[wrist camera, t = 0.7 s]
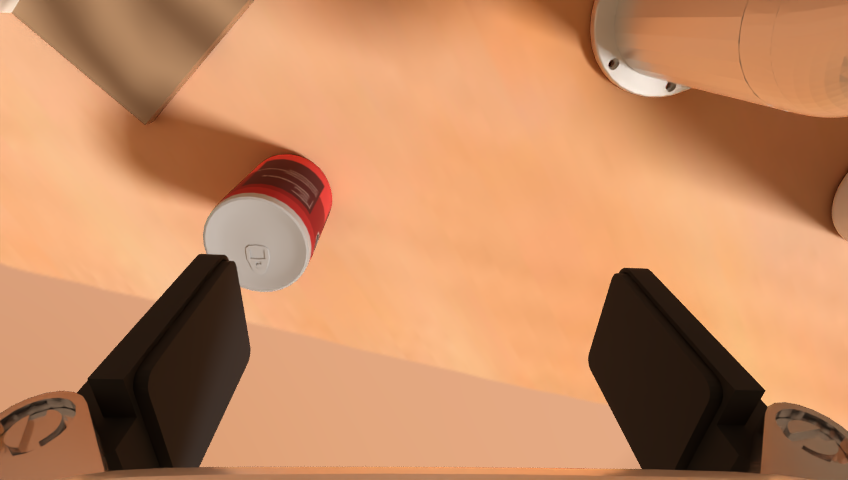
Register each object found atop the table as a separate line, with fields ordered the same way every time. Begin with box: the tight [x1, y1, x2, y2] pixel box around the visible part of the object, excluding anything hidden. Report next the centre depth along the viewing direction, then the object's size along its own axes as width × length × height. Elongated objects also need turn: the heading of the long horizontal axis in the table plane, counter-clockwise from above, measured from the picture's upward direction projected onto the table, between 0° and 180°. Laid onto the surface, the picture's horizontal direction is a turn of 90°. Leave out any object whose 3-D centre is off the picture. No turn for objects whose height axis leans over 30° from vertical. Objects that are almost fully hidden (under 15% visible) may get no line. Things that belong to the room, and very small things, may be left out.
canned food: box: [203, 154, 332, 292], centre depth 36 cm, size 8×8×11 cm
